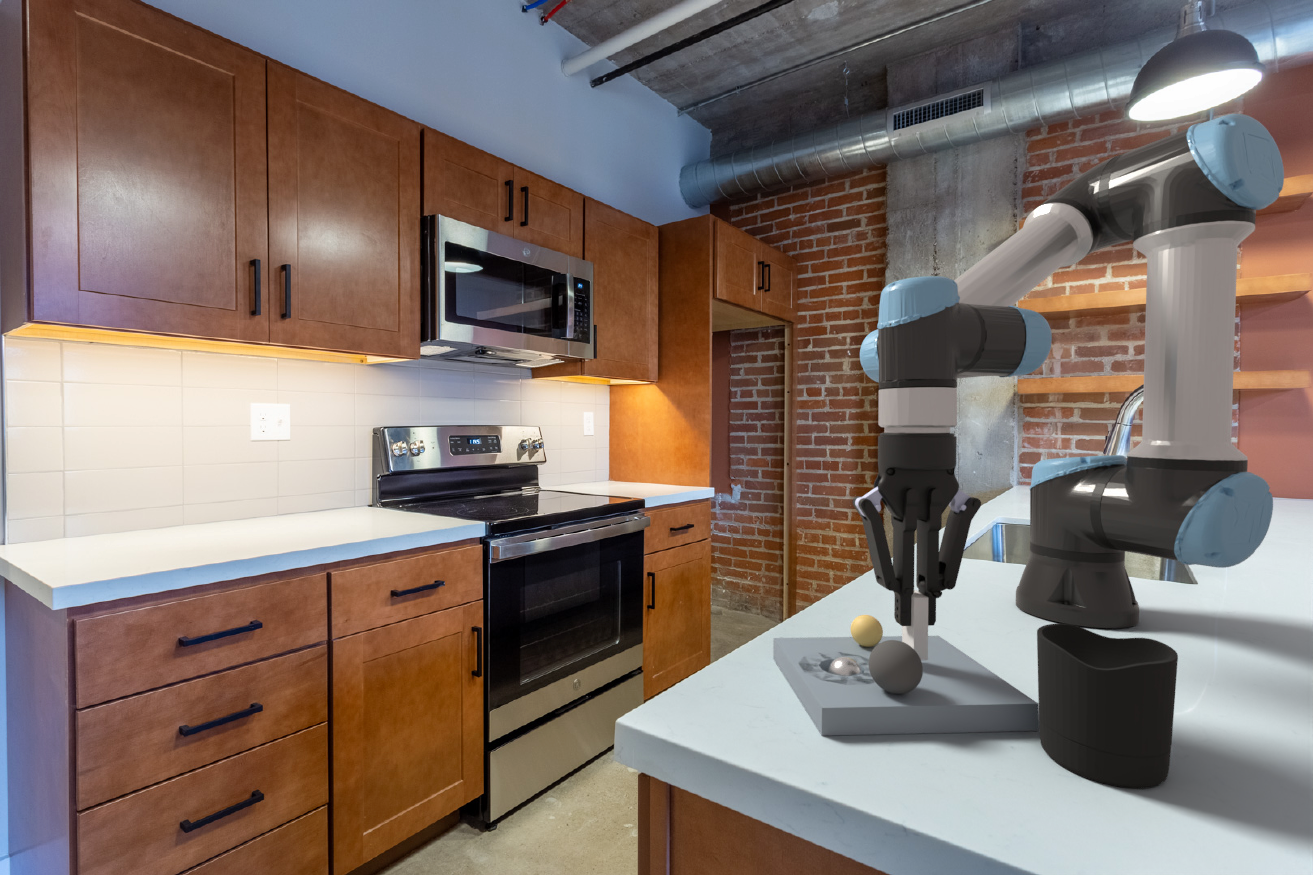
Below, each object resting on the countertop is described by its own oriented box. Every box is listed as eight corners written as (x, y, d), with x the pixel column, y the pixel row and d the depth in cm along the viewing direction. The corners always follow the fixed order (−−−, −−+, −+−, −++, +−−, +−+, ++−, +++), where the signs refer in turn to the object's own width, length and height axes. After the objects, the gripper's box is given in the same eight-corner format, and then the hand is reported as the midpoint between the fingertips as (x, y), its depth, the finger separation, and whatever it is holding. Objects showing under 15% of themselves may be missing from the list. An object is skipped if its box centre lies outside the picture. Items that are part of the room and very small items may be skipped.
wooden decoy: (875, 640, 73) (875, 610, 73) (887, 651, 69) (888, 620, 69) (845, 640, 73) (846, 610, 73) (857, 651, 69) (857, 620, 69)
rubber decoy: (908, 680, 61) (908, 632, 61) (932, 702, 57) (933, 650, 57) (860, 681, 61) (861, 633, 61) (880, 703, 56) (881, 651, 56)
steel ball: (861, 674, 67) (847, 645, 66) (874, 689, 63) (859, 659, 63) (832, 689, 67) (818, 660, 66) (843, 704, 63) (828, 674, 63)
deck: (938, 656, 75) (938, 635, 75) (1037, 730, 57) (1038, 703, 57) (773, 658, 74) (773, 637, 73) (821, 735, 56) (821, 707, 56)
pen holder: (1103, 729, 57) (1105, 621, 57) (1207, 788, 48) (1210, 660, 48) (1009, 736, 56) (1011, 625, 55) (1098, 799, 46) (1101, 666, 46)
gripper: (958, 429, 69) (956, 641, 69) (842, 430, 68) (841, 643, 69) (999, 431, 61) (996, 668, 62) (869, 431, 61) (867, 671, 61)
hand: (914, 655), depth 65 cm, fingers closed
